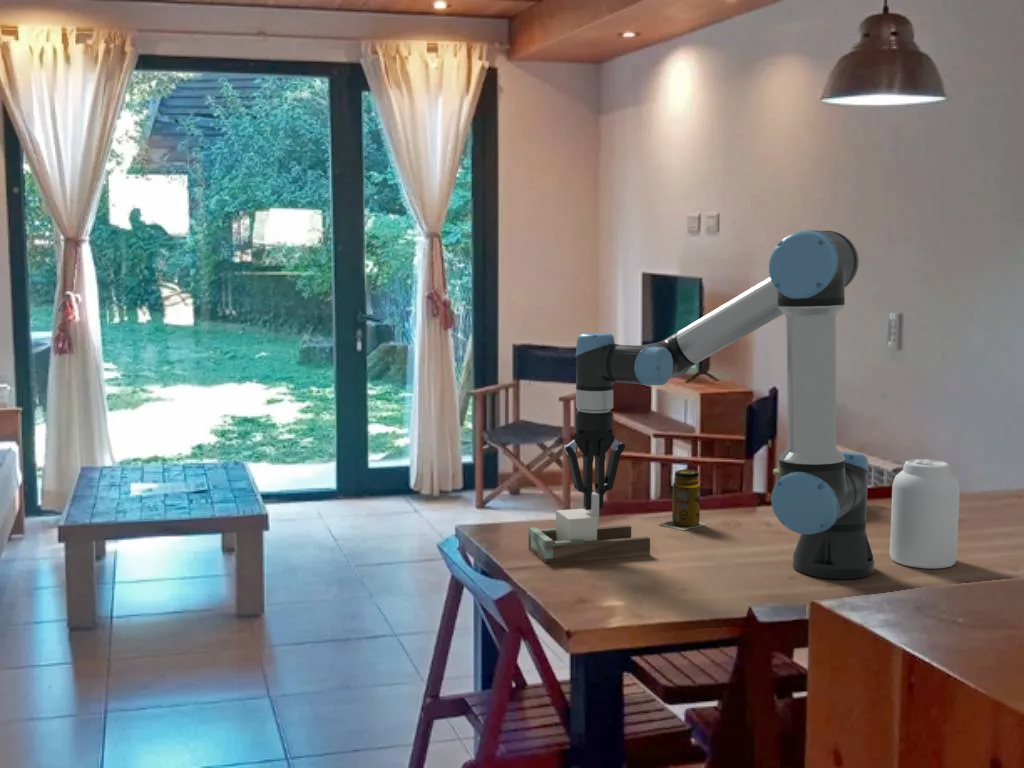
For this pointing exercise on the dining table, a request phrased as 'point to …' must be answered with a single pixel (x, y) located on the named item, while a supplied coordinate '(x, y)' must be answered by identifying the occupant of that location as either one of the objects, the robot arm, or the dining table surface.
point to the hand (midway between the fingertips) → (593, 524)
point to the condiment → (685, 501)
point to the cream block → (575, 525)
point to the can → (924, 515)
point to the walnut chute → (587, 545)
